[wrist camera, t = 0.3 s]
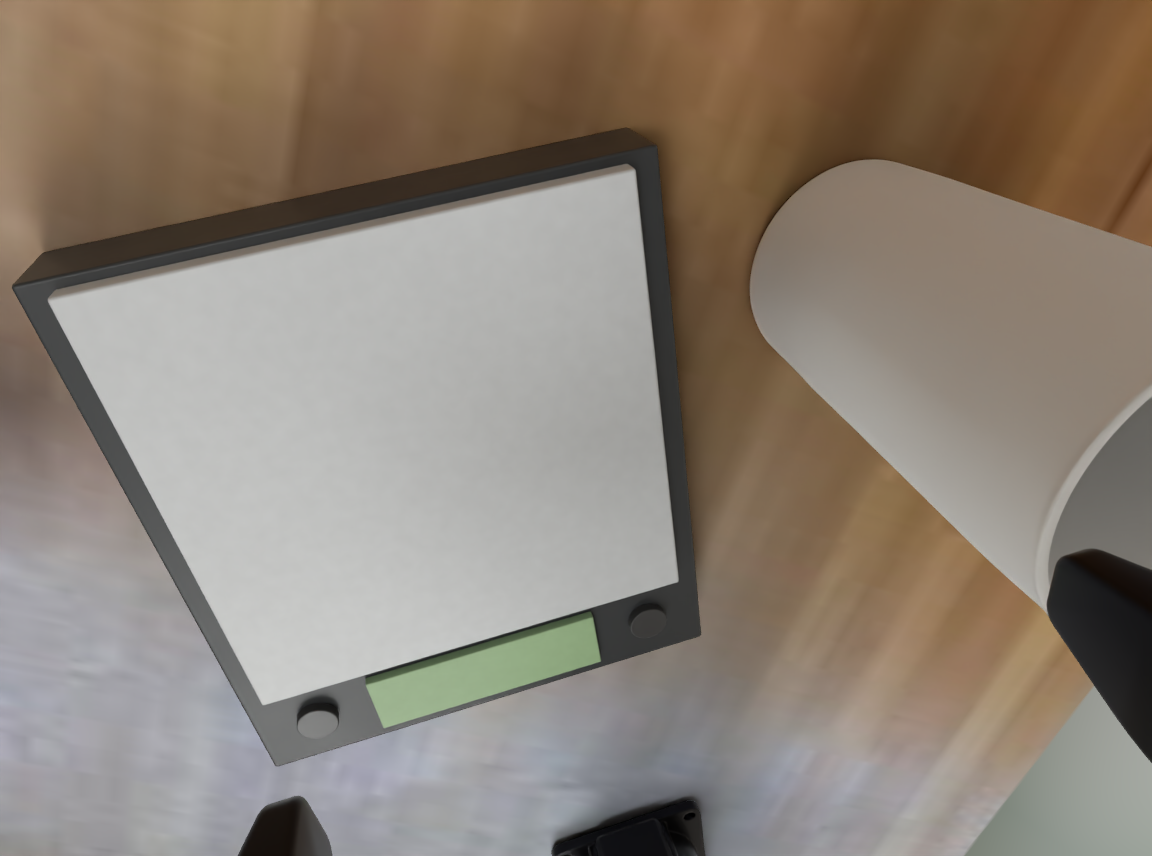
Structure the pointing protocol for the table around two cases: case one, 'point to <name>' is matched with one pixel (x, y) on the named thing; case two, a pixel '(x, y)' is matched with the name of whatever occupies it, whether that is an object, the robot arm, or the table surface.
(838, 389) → the mug
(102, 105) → the table surface
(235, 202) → the table surface
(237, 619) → the scale
